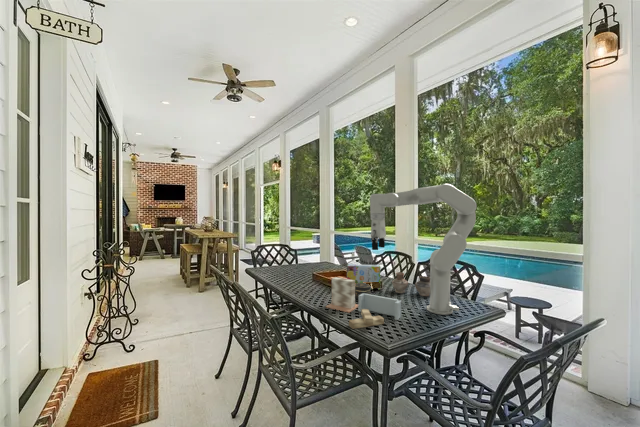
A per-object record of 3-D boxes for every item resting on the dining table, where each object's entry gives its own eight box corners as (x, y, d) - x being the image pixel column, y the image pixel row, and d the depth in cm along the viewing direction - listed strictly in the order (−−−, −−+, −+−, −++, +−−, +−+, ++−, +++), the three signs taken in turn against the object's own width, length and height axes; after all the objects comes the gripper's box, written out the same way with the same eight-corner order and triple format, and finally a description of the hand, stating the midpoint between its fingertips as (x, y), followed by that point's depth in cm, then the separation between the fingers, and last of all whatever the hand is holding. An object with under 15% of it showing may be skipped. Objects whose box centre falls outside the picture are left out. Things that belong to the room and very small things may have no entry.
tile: (359, 306, 162) (359, 304, 162) (349, 312, 152) (349, 311, 152) (337, 301, 170) (337, 300, 169) (325, 307, 159) (325, 306, 159)
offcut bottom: (379, 321, 142) (379, 315, 142) (383, 324, 139) (384, 318, 138) (348, 326, 136) (348, 320, 136) (353, 330, 133) (353, 323, 132)
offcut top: (361, 314, 144) (361, 309, 143) (367, 314, 144) (368, 309, 144) (365, 324, 132) (365, 318, 131) (373, 324, 132) (373, 318, 132)
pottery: (392, 288, 195) (393, 270, 194) (434, 293, 186) (434, 274, 185) (390, 293, 184) (390, 274, 184) (434, 298, 175) (434, 278, 175)
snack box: (379, 287, 197) (379, 264, 197) (380, 290, 192) (380, 266, 191) (346, 286, 200) (347, 263, 199) (346, 288, 194) (346, 265, 193)
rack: (401, 316, 147) (401, 300, 147) (397, 320, 143) (397, 303, 143) (362, 308, 159) (363, 293, 158) (358, 311, 154) (358, 295, 154)
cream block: (354, 306, 159) (355, 280, 158) (351, 308, 156) (351, 282, 155) (335, 302, 166) (335, 277, 165) (331, 304, 162) (331, 278, 162)
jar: (349, 298, 176) (349, 284, 175) (360, 294, 182) (360, 281, 182) (363, 302, 168) (363, 288, 168) (374, 298, 175) (374, 285, 175)
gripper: (378, 217, 153) (379, 251, 153) (389, 216, 168) (390, 246, 168) (364, 217, 157) (365, 250, 157) (377, 216, 172) (377, 246, 172)
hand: (378, 248), depth 163 cm, fingers open, 9 cm apart
